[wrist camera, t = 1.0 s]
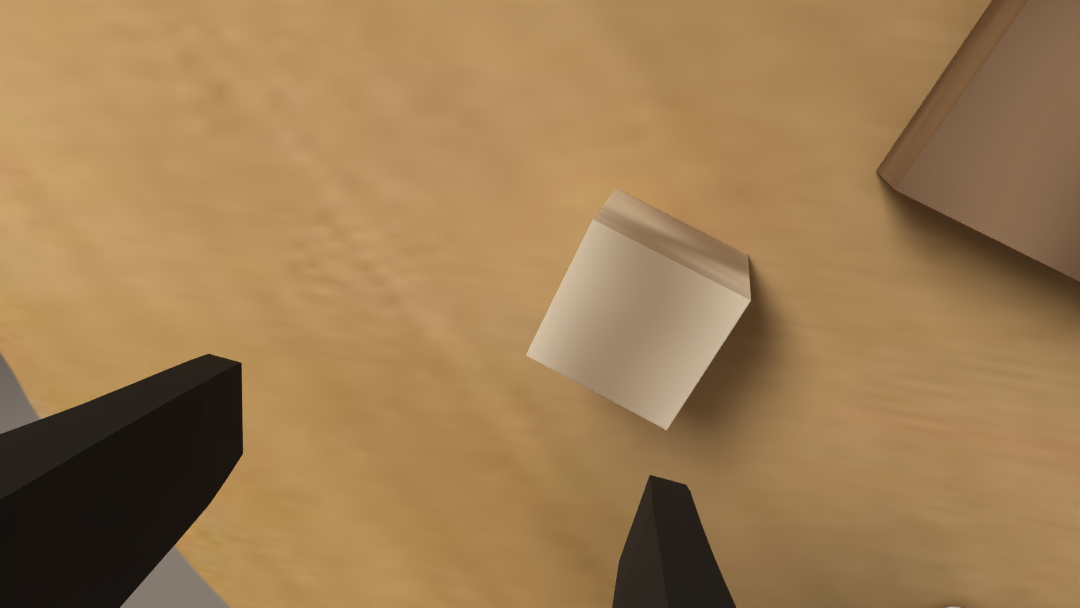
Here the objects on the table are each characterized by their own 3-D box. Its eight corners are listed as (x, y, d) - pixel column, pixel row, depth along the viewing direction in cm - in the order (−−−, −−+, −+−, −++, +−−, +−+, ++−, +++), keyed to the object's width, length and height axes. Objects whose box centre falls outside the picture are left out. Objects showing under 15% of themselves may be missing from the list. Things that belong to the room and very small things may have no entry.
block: (748, 254, 21) (750, 300, 17) (677, 367, 23) (666, 430, 19) (616, 187, 21) (593, 219, 18) (558, 304, 23) (525, 355, 20)
